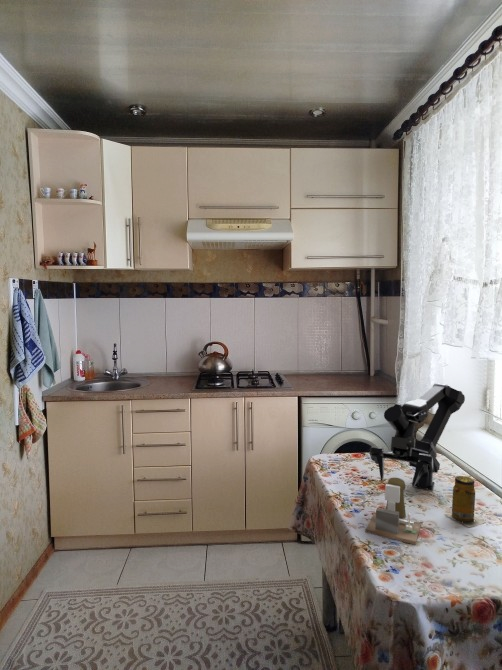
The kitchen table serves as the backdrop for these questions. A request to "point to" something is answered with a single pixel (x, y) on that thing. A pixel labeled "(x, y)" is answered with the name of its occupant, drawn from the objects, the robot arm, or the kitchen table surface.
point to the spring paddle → (394, 499)
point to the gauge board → (393, 536)
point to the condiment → (464, 502)
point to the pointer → (409, 525)
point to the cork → (401, 505)
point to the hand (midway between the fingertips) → (397, 483)
